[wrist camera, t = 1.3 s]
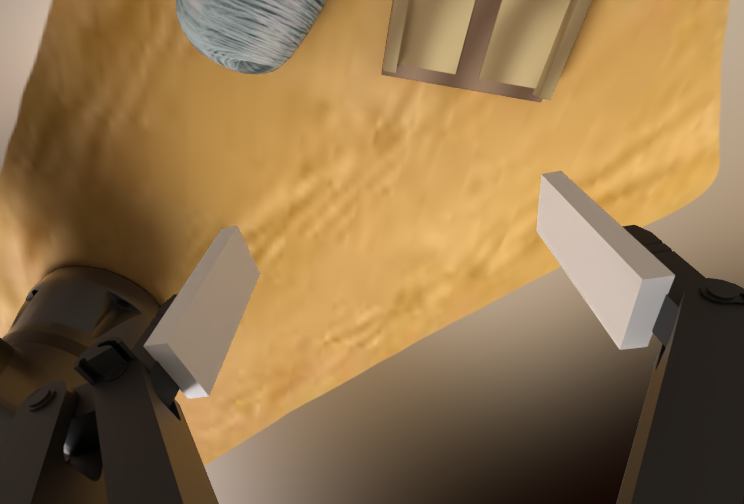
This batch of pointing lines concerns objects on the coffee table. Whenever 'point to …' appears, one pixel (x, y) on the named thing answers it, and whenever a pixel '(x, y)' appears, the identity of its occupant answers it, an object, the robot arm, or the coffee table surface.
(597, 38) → the coffee table surface
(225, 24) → the grey streaked ellipsoid
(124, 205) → the coffee table surface
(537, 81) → the shallow beige tray
